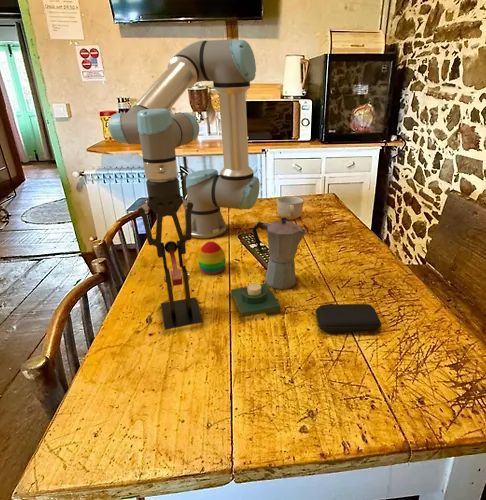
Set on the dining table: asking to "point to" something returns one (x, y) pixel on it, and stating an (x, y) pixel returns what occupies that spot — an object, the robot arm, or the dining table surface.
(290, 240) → the moka pot
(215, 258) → the decorative egg
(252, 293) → the button
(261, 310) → the control block
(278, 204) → the teacup
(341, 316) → the carrying case
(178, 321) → the switch bracket
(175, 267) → the switch lever
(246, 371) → the dining table surface
